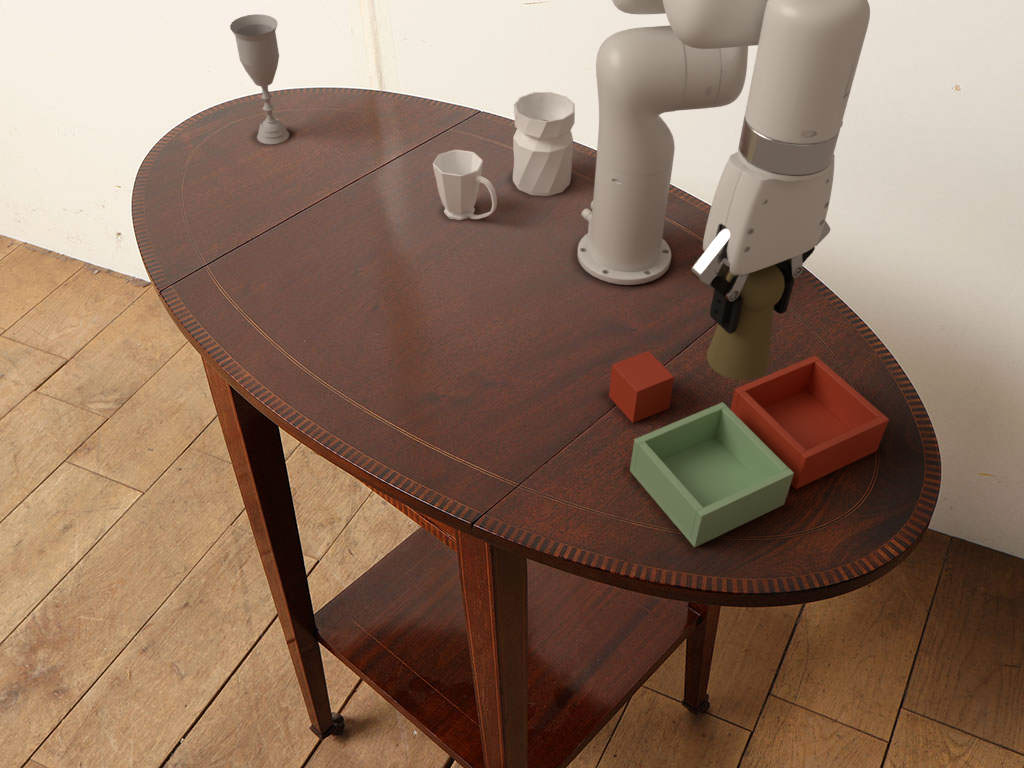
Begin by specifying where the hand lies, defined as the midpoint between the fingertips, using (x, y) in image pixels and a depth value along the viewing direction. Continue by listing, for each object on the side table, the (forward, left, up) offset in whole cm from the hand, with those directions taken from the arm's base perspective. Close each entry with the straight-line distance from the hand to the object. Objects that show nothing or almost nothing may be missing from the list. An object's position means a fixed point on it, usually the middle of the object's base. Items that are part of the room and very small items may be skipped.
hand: (747, 313), depth 92 cm
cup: (-55, -2, -21) cm, 59 cm away
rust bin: (+1, +11, -21) cm, 24 cm away
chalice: (-89, -19, -21) cm, 93 cm away
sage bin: (+2, -3, -21) cm, 21 cm away
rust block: (-12, -2, -21) cm, 24 cm away
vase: (-58, +12, -21) cm, 63 cm away
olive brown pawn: (0, 0, -6) cm, 6 cm away
